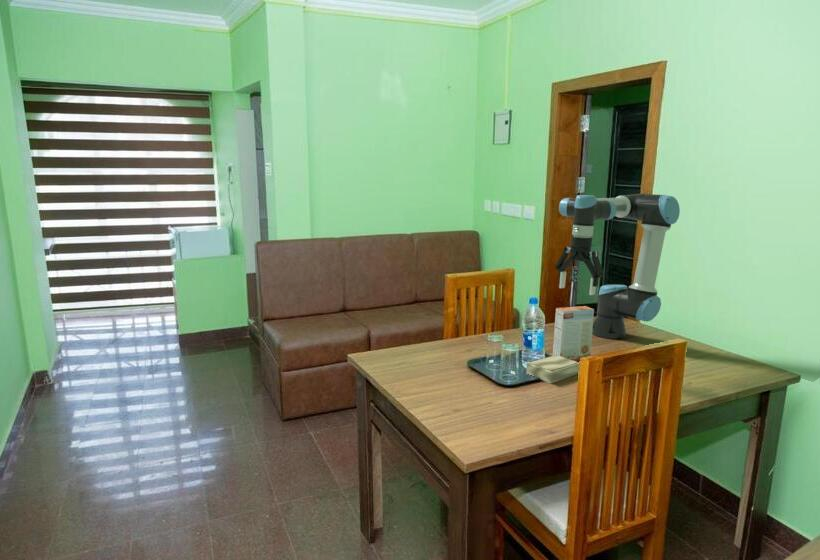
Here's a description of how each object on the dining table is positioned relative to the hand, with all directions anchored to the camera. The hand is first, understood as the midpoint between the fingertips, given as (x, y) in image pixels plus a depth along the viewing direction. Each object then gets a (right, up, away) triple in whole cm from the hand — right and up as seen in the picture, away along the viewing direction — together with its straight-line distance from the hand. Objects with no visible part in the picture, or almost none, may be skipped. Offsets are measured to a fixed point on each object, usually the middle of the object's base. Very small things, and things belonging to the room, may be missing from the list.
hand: (576, 291), depth 210 cm
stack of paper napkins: (-12, -30, -10) cm, 34 cm away
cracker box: (-1, -27, +6) cm, 28 cm away
